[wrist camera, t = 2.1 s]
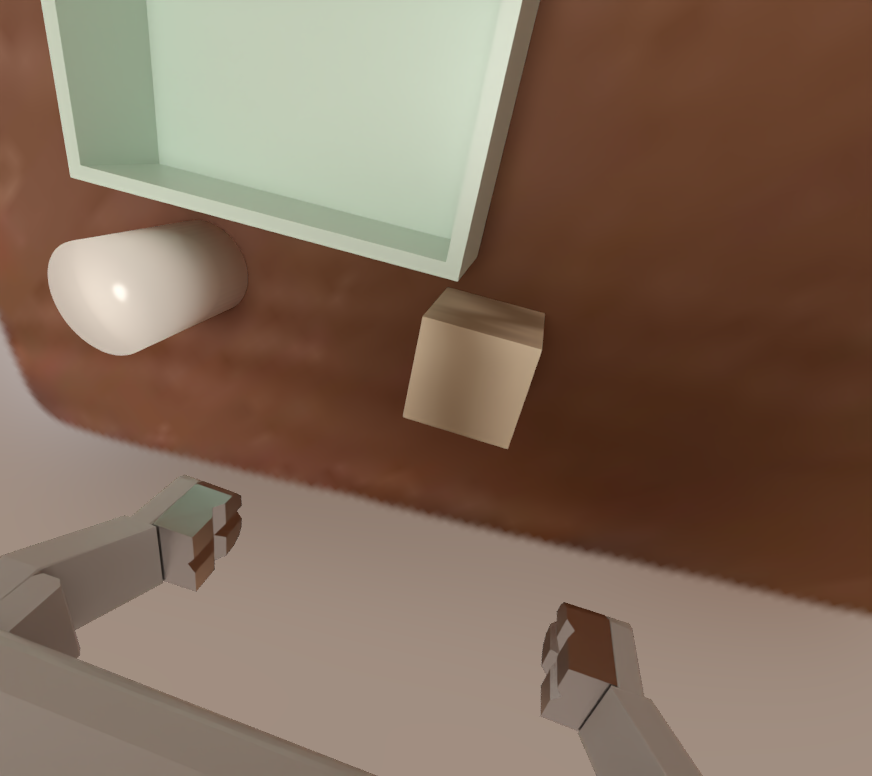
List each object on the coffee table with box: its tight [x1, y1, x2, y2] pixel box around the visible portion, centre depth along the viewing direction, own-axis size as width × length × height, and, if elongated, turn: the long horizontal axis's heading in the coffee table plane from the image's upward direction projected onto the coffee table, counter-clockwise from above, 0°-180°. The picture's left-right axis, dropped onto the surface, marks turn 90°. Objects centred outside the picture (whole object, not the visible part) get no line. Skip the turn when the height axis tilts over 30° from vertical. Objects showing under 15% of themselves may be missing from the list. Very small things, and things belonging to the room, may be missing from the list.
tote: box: [41, 0, 540, 282], centre depth 18 cm, size 17×13×5 cm
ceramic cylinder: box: [48, 220, 248, 355], centre depth 23 cm, size 5×5×7 cm
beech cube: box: [403, 287, 545, 449], centre depth 22 cm, size 5×5×5 cm
